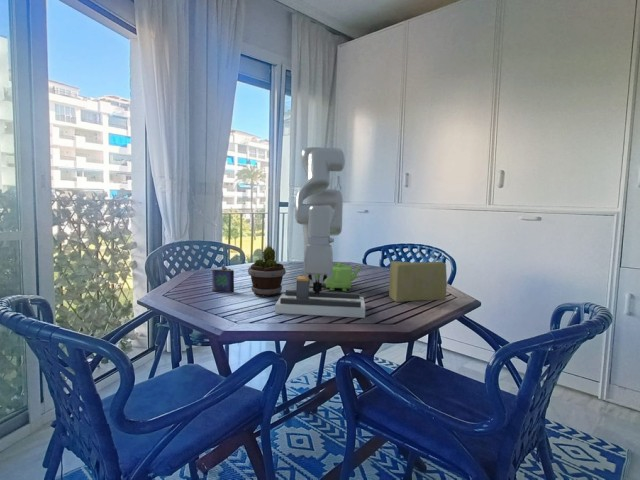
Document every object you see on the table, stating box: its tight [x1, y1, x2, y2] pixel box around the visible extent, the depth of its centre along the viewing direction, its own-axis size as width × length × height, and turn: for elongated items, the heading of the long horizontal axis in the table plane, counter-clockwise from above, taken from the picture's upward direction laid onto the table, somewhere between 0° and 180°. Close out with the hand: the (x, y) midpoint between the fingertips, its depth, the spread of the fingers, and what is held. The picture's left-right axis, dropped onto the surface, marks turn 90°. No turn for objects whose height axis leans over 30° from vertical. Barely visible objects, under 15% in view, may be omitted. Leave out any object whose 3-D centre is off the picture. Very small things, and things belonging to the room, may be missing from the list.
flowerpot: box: [247, 244, 287, 298], centre depth 153 cm, size 14×15×20 cm
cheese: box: [388, 260, 448, 303], centre depth 152 cm, size 22×10×15 cm, turn 98°
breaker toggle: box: [296, 275, 310, 299], centre depth 135 cm, size 5×4×8 cm
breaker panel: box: [274, 289, 366, 319], centre depth 135 cm, size 15×30×5 cm, turn 86°
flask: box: [211, 264, 235, 293], centre depth 155 cm, size 9×3×11 cm, turn 79°
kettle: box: [319, 262, 364, 292], centre depth 165 cm, size 15×14×11 cm
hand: (317, 293), depth 135 cm, fingers closed
